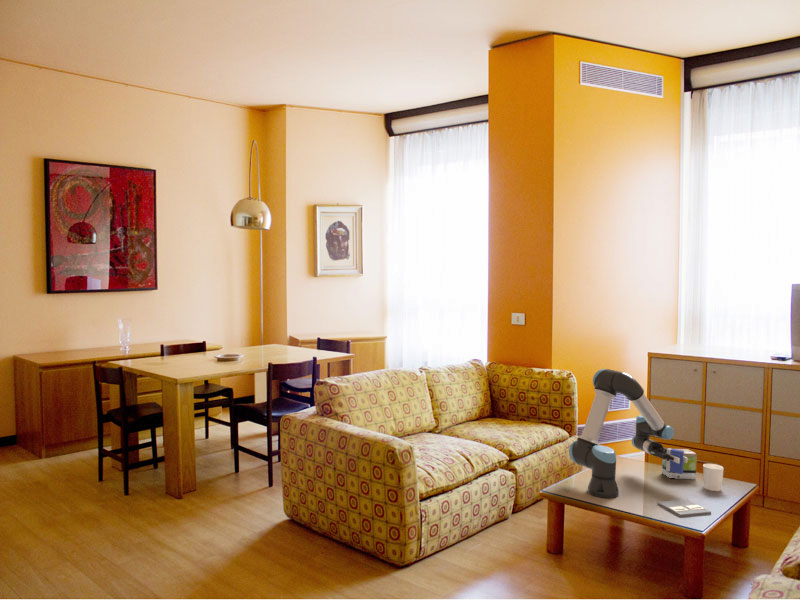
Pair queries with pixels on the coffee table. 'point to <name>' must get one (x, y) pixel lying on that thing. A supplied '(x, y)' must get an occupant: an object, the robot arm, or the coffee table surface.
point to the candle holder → (712, 477)
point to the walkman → (674, 466)
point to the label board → (684, 508)
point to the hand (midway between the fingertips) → (682, 460)
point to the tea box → (688, 467)
